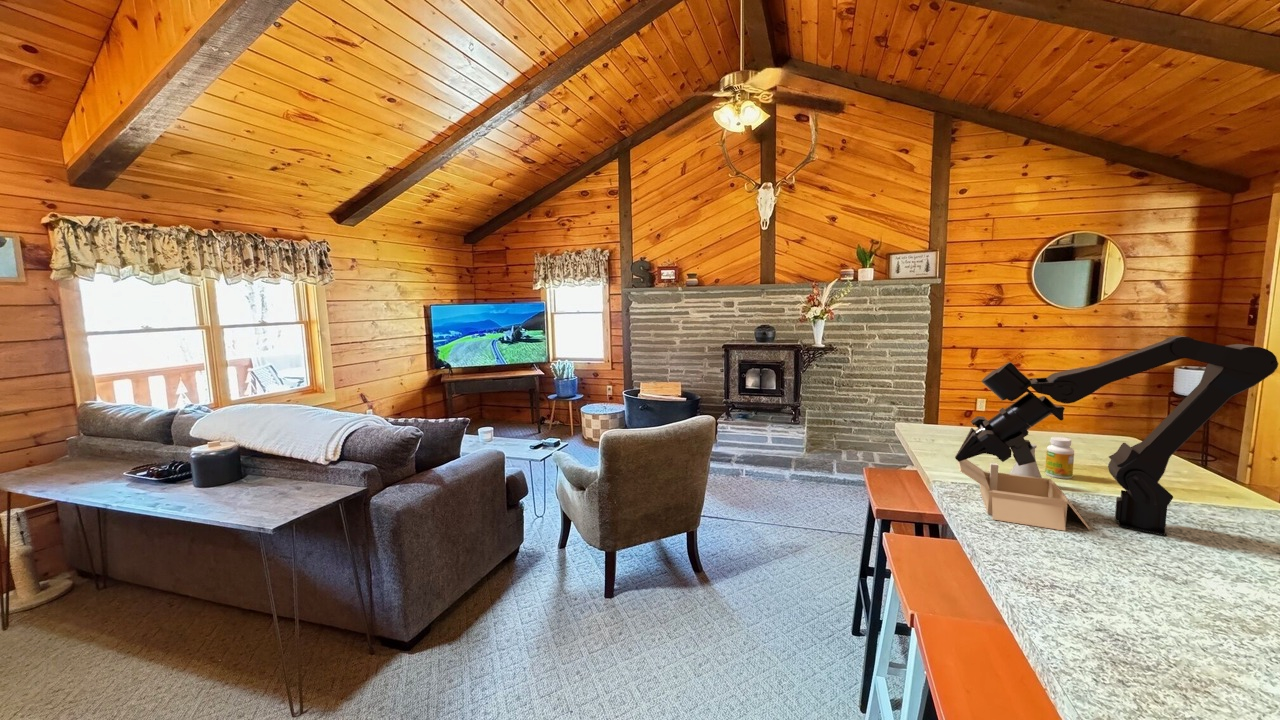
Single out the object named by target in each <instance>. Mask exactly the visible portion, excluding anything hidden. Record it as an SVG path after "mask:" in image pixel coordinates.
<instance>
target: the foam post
mask: <svg viewBox="0 0 1280 720" xmlns="http://www.w3.org/2000/svg"><path fill="white" fill-rule="evenodd" d="M989 463H990V464H989V472H990V476H989V487H990V490H991V491H992V490H997V482H998V473H999V464H998V463H996V462H989Z"/></svg>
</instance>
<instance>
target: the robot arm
mask: <svg viewBox="0 0 1280 720" xmlns="http://www.w3.org/2000/svg"><path fill="white" fill-rule="evenodd" d="M1181 359H1188V360H1193V361H1195V362H1196V361H1197V362H1201V363H1205V364H1206V367H1205V368H1204V371H1203V373H1202V377H1201V380H1200V382H1199V383H1198V385H1196V386H1195V387H1194V389H1193V390H1192V391H1191V392H1190V393H1188V395H1187V396H1186V397H1184V399H1183V400H1182V401H1181V402H1179V404H1178V405H1177V406H1176V407H1175V408H1174V409H1173V410H1172V411H1171V412H1170V413H1169V414H1168V415H1167V416H1166V417H1165V418H1164V419H1163V420H1162V421H1161V422H1160V423H1159V424H1158V425H1157V426H1156V427H1155V428H1154V429H1153V430H1152V431H1151V433H1149V435H1147V437H1145V438H1144V440H1142V441H1141V442H1138V443H1136V444H1134V445H1132V446H1130V445H1129V444H1127V443H1126V442H1123V443H1121V445H1120V446H1119V448H1118V449H1117V450H1116V451H1115V452H1114V453H1113V454H1112V455H1109V456H1108V458H1109V459H1110V461H1109V463H1108V465H1107V469H1108V472H1109V474H1110V475H1111V476H1112V477H1113V479H1114V480H1115V481H1116V482H1117V483H1118V485H1119V486H1120V487H1122V490H1121V491H1120V497H1119V496H1118V497H1116V498H1115V509H1114V518H1115V521H1116V522H1118V526H1119V527H1121V528H1124V529H1129V530H1135V531H1139V532H1144V533H1150V534H1154V535H1160V536H1164V537H1166V536H1168V532H1167V530H1166V526H1167V523H1166V522H1167V515H1168V506H1169V504H1170V503H1171V502H1172V500H1173V499H1174V496H1173V494H1171V492H1169V491H1168V490H1167V489H1166V488H1165V487H1164V486H1163V485H1161V484H1160V483H1159V482H1160V480H1161V478H1162V477H1163V475H1164V474H1165V471H1166V468H1167V466H1168V463H1169V460H1170V458H1171V457H1172V455H1174V454H1175V453H1176V452H1177V451H1178V450H1179V449H1180V448H1181V446H1183V445H1184V444H1185V443H1186V442H1187V441H1188V440H1189V439H1190V438H1191V437H1192V436H1194V434H1195V433H1197V432H1198V430H1199V429H1200V428H1201V427H1203V425H1204V424H1205V423H1207V422H1208V420H1209V419H1210V418H1212V417H1213V416H1214V415H1215V414H1216V412H1217V411H1219V410H1220V409H1221V408H1222V407H1223V406H1224V405H1225V404H1226V403H1227V402H1228V401H1229V400H1230V399H1231V398H1232V397H1234V396H1236V395H1238V394H1240V393H1243V392H1245V391H1247V390H1248V389H1252V388H1253V387H1255V386H1256V385H1258V384H1259V383H1261V382H1262V381H1264V380H1265V379H1266V378H1268V377H1269V376H1271V375H1272V374H1275V371H1276V370H1277V369H1278V367H1279V362H1278V358H1277V356H1276V355H1275V353H1273V352H1272V351H1270V350H1269V349H1268V348H1263V347H1259V346H1256V345H1248V344H1243V343H1241V344H1240V343H1235V344H1228V345H1221V344H1216V343H1211V342H1206V341H1204V340H1203V341H1202V340H1198V339H1194V338H1192V337H1189V336H1186V335H1185V336H1184V335H1172V336H1168V337H1167V338H1165V339H1163V340H1161V341H1159V342H1155V343H1153V344H1150V345H1148V346H1147V345H1146V346H1145V347H1141V348H1139V349H1136V350H1134V351H1130V352H1128V353H1126V354H1123V355H1120V356H1117V357H1113V358H1111V359H1109V360H1105V361H1103V362H1100V363H1097V364H1094V365H1089V366H1085V367H1077V368H1072V369H1067V370H1063V371H1057V372H1054V373H1051V374H1050V375H1048V376H1047V377H1033V378H1032V377H1031V378H1028V377H1027V376H1026V375H1025V374H1024V373H1022V372H1021V371H1020V370H1019V369H1018V368H1017V366H1016V365H1014V363H1012V362H1011V361H1008V362H1006V363H1005V364H1004V365H1001V366H1000V367H998V368H997V369H993V370H992V371H990V372H989V373H988V374H987V375H986V376H985V377H984V378H982V380H981V383H982V384H984V386H986V387H987V388H988V389H989V390H990V391H991V392H992V393H994V394H995V396H996V397H998V398H999V399H1000V400H1001V401H1005V400H1008V401H1010V402H1013V401H1015V400H1016V401H1015V402H1013V403H1012V404H1010V405H1008V406H1007V407H1006V408H1004V407H1002V408H1000V409H999V410H998V411H999V412H998V413H997V414H996V415H994V416H993V417H992V418H990V419H989V420H988V419H987V418H986V416H982V415H981V416H975V418H973V419H971V420H970V423H971V424H972V425H973V426H975V427H976V429H974V428H973V427H970V430H969V432H968V433H967V435H966V438H965V439H964V441H963V442H962V444H961V446H960V448H959V450H958V451H957V452H956V453H957V455H956V454H955V456H954V458H955V460H956V461H957V462H958V461H962V460H965V459H967V460H969V459H971V458H974V457H977V456H980V455H983V454H984V455H985V454H986V455H991V456H995V457H996V458H998V460H999V461H1000V462H1002V463H1004V462H1005V461H1007V460H1008V459H1010V458H1012V457H1013V458H1014V460H1015V463H1016V462H1017V463H1018V465H1019V466H1021V465H1025V464H1029V463H1033V462H1036V463H1037V461H1035V459H1036V458H1035V459H1034V457H1033V455H1032V453H1031V451H1030V450H1031V449H1033V447H1032V445H1031V444H1032V443H1031V441H1030V440H1028V439H1025V437H1027V436H1028V435H1029V429H1031V428H1033V427H1034V426H1036V425H1037V424H1038V423H1040V422H1042V421H1043V420H1045V419H1046V418H1048V417H1049V416H1050V415H1051V416H1052V415H1053V416H1054V417H1055V419H1058V420H1059V421H1064V419H1065V418H1064V411H1065V409H1066V408H1065V407H1064V406H1063V405H1056V404H1055V403H1053V402H1052V401H1051V400H1050V399H1049V398H1048V397H1047V396H1049V397H1050V398H1051V399H1053V400H1054V401H1056V402H1058V403H1062V404H1067V405H1068V404H1072V403H1076V402H1078V401H1081V400H1082V399H1084V398H1086V397H1088V396H1090V395H1092V394H1094V393H1095V392H1097V391H1098V390H1100V388H1102V387H1104V386H1106V385H1109V384H1111V383H1114V382H1117V381H1119V380H1122V379H1125V378H1128V377H1132V376H1134V375H1137V374H1140V373H1142V372H1144V373H1145V372H1146V371H1150V370H1152V369H1155V368H1158V367H1161V366H1163V365H1167V364H1169V363H1173V362H1177V361H1178V360H1181ZM1029 388H1032V389H1033V390H1034V391H1035V392H1036V393H1037V394H1041V395H1042V396H1039V397H1038V396H1037V395H1036V394H1034V393H1033V392H1032V391H1031V390H1030V389H1029ZM1026 392H1027V393H1026ZM1025 393H1026V394H1025ZM1024 394H1025V395H1024ZM1045 395H1046V396H1045ZM1021 396H1022V397H1021ZM1017 399H1018V400H1017ZM1030 443H1031V444H1030ZM1123 489H1124V490H1123Z"/></svg>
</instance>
